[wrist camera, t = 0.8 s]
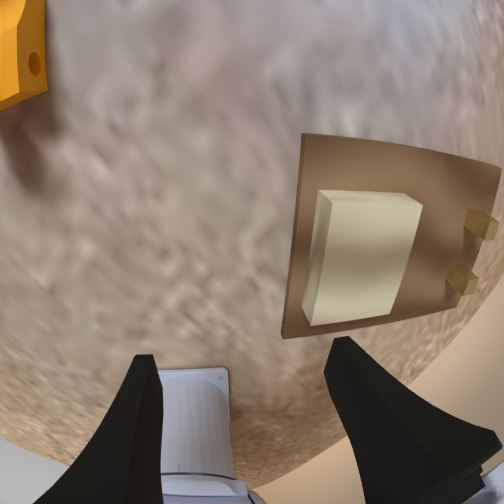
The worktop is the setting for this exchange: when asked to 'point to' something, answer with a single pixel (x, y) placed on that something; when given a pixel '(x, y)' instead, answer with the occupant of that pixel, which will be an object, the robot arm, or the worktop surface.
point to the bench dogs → (485, 230)
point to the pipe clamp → (22, 51)
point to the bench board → (428, 231)
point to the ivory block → (358, 254)
